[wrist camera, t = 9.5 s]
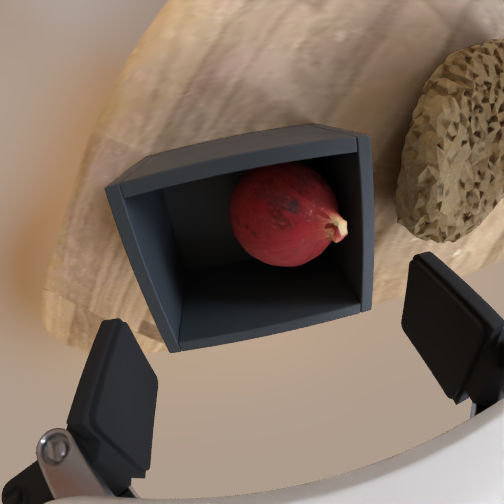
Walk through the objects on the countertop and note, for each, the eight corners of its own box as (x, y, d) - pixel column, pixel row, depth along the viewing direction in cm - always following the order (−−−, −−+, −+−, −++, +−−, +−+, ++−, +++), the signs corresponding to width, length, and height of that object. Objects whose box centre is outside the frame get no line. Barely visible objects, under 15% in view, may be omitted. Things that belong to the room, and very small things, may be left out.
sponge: (475, 27, 16) (338, 90, 15) (544, 38, 10) (452, 108, 9) (494, 140, 24) (387, 245, 23) (551, 164, 18) (459, 297, 17)
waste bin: (180, 277, 23) (169, 353, 16) (145, 156, 19) (103, 188, 11) (327, 247, 23) (371, 310, 16) (314, 123, 19) (370, 135, 12)
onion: (188, 222, 18) (269, 256, 11) (236, 142, 18) (334, 134, 12) (256, 262, 21) (344, 304, 15) (294, 192, 22) (389, 207, 15)
